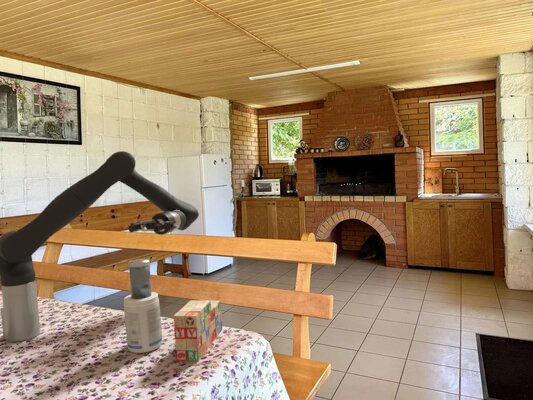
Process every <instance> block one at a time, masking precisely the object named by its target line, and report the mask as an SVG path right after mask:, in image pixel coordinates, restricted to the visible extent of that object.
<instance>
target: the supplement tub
mask: <svg viewBox="0 0 533 400" xmlns="http://www.w3.org/2000/svg"><path fill="white" fill-rule="evenodd" d="M151 293H152V295H151V296H150V297H147V298H142V299H133V298H131V294H129V295H127V296H125V297H124V298H123V312H124V315H123V316H124V325H125V334H126V345H127V350H128V351H129V352H131V353H133V354H146V353H149V352H152V351H154V350H157V349H159V348H160V347H161V345H163V334H162V333H163V331H162V330H163V329H162V321H161V320H162V319H161V318H162V317H161V308H160V307H161V306H160V299H159V294H158V292H156V291H151Z"/></svg>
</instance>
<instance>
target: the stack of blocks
mask: <svg viewBox="0 0 533 400" xmlns="http://www.w3.org/2000/svg"><path fill="white" fill-rule="evenodd" d="M221 308H222V307H221V300H211V299H210V300H207V299H206V300H200V299H199V300H189V301H188V302H187V303H186V304H185V305H184V306H183V307H182V308H180V310H178V311H177V312H176V313H175V314H174V315H173V329H174V331H173V332H174V340H175V341H174V343H175V361H176V362H200V360H201V359H202V358H203V357H204V355H205V354H206V353H207V351H209V349H210V347H211V346H212V344H213V343H214V341H215V340H216V338H217V337H218V336H219V335H220V333H221V331H223V321H222V320H223V319H222V317H223V316H222V310H221Z"/></svg>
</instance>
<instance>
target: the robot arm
mask: <svg viewBox="0 0 533 400" xmlns="http://www.w3.org/2000/svg"><path fill="white" fill-rule="evenodd" d="M135 168H136V160H135V157H134V155H132V154H131V152H128V151H123V150H122V151H120V150H119V151H117V152H113V154H111V155H109V157H108V158H106V160H105V162H104V163H103V164H102V165H101V166H99V168H97V169H95V170H94V171H93V172H92V173H90V174H88V175H87V176H85V177H83V178H81V179H80V180H78V181H77V182H75V183H73V184H72V185H70V186H69V187H68V188H66V189H65V190H63V191H62V192H61V193H60V194H58V195H57V196H56V197H54V198H53V199H52V200H51V201H50V202H49V203H48V205H47V206H46V207H45V208H44V209H43V210H42V211H41V212H40V213H39V215H38V216H37V217H36V218H34V219H33V220H32V221H30V222H28V223H27V224H26V225H24V226H22V227H21V228H20V229H17V230H14V231H12V230H11V231H7V232H5V233H3V235H1V236H0V286H1V298H2V306H3V307H2V308H1V309H0V316H1V317H0V318H1V328H2V329H1V330H2V339H3V340H5V341H6V342H8V343H9V342H10V343H13V342H14V343H15V342H22V341H28V340H30V339H33V338H35V337H37V336H39V335H40V333H41V328H40V327H41V326H40V325H41V324H40V313H39V301H38V290H37V281H36V271H35V267H34V263H33V256H32V255H34V254H35V253H36V252H37V251H38V250H39V249H40V247H42V245H44V244H45V243H46V242H47V241H48V240H49V239H50V238H51V237H52V236H53V235H55V234H56V233H57V232H59V231H61V230H62V229H63V228H65V227H66V226H67V225H69V224H70V223H71V222H73V221H74V220H75V219H77V218H78V217H80V216H81V215H83V213H84V212H86V211H87V210H88V209H89V208H90V207H91V206H93V205H94V203H95V202H96V201H98V200H99V199H100V198H101V197H102V196H103V195H104V193H106V192H107V191H108V190H109V189H110V188H111V187H112V186H114V185H115V184H116V183H122V184H124V185H125V186H127V187H129V188H130V189H132V190H133V191H135V192H137V193H138V194H140V195H141V196H142V197H144V198H145V199H146V200H148V201H149V202H150V203H152V204H153V205H154V206H156V207H157V209H159V210H160V211H162V212H158V213H155V214H154V215H153V216H152V218H151V219H149V220H141V221H140V220H139V221H136V222H131V223H130V225H129V226H128V232H129V233H135V232H139V231H140V232H145V233H146V232H154V233H155V234H157V235H161V236H163V235H166V234H170V233H173V232H175V231H185V230H187V229H188V228H189V227H190V226H191V225H192V224H193V223H195V221H197V219H199V216H200V215H199V214H200V213H199V211H198V209H197V208H196V206H194V205H192V204H190V203H187V202H185V201H183V200H181V199H178V198H177V197H175V196H174V195H172V194H171V193H170V192H169V191H168V190H167V189H165V188H163V186H160V185H158V184H157V183H154V182H153V181H151V180H149V179H147V178H145V177H144V176H142V175H141V174H140V173H138V171H136V169H135ZM145 228H146V229H145Z"/></svg>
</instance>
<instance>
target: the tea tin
mask: <svg viewBox="0 0 533 400" xmlns="http://www.w3.org/2000/svg"><path fill="white" fill-rule="evenodd" d="M128 268H129V272H128V273H129V285H130V295H131V298H133V299H142V298H147V297H150V296H151V295H152V293H151V292H152V281H151V260H150V258H137V259H136V258H135V259H132V260H129V261H128Z"/></svg>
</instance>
